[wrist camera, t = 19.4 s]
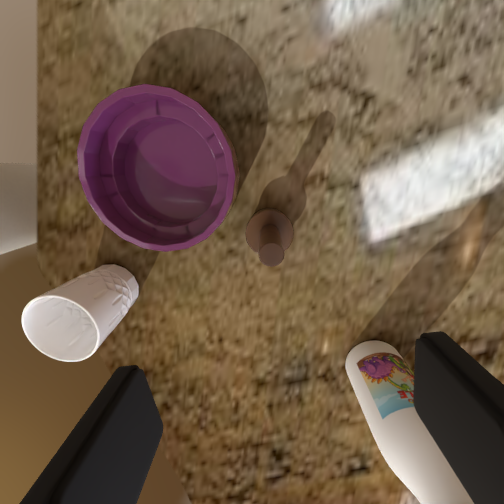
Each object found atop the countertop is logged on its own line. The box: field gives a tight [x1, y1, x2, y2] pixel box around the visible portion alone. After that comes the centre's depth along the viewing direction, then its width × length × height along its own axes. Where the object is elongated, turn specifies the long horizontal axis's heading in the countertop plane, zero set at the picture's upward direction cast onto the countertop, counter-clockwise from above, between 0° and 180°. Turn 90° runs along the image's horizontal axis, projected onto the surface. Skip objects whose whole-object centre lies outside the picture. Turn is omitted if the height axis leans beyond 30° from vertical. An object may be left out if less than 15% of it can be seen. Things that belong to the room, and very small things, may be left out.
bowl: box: [77, 84, 240, 252], centre depth 27 cm, size 15×15×6 cm
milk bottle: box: [345, 340, 474, 504], centre depth 28 cm, size 8×8×20 cm
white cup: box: [22, 264, 139, 362], centre depth 30 cm, size 8×8×10 cm
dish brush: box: [246, 208, 293, 266], centre depth 27 cm, size 5×5×10 cm
